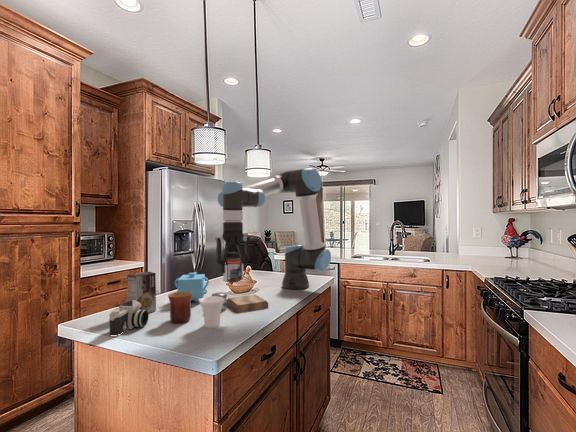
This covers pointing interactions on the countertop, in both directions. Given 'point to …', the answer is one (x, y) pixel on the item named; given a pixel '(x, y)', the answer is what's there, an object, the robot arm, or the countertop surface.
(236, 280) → the supplement bottle
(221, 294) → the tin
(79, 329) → the countertop surface
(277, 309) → the countertop surface
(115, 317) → the camera
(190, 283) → the teapot
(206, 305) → the cup
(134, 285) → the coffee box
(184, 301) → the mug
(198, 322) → the countertop surface
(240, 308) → the stand
